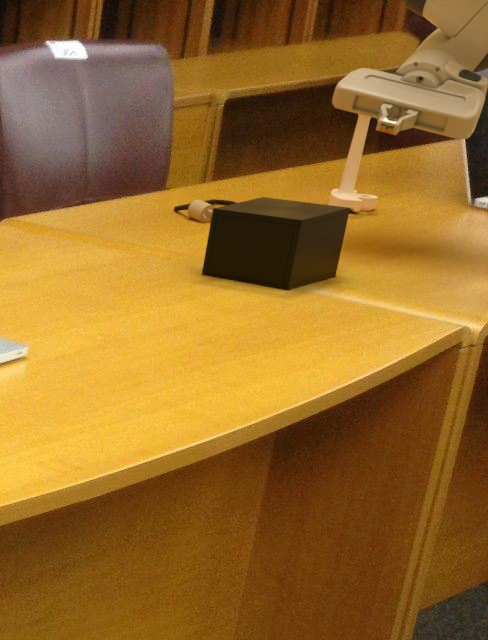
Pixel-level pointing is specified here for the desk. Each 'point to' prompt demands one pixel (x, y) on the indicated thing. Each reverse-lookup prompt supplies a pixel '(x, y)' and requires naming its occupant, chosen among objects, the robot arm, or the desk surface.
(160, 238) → the desk surface
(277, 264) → the cabinet
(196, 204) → the cable
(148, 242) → the desk surface
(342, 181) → the joystick
